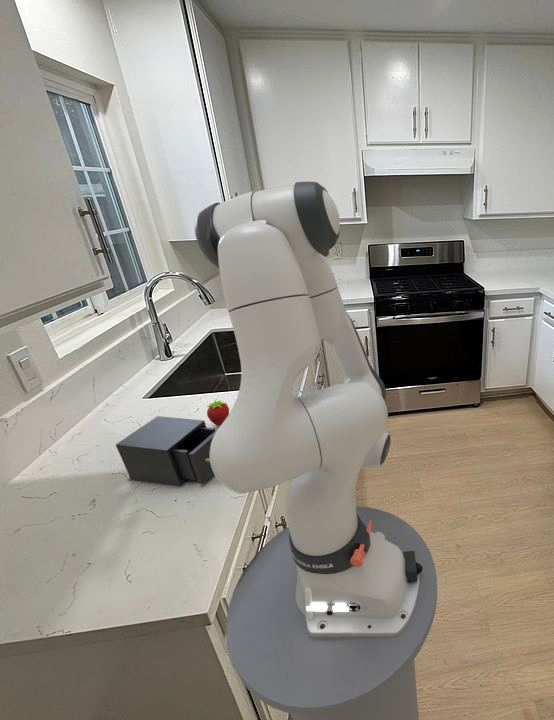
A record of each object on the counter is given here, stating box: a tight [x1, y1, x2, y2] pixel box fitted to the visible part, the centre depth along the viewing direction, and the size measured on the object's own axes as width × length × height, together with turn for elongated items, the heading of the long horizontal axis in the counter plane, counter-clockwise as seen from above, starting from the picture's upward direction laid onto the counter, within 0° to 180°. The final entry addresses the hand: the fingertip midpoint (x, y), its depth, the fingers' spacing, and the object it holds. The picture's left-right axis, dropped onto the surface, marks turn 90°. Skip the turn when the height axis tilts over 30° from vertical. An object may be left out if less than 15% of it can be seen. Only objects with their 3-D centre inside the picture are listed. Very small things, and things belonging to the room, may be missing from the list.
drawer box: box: [115, 415, 207, 487], centre depth 99 cm, size 15×13×11 cm
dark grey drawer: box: [170, 426, 218, 485], centre depth 97 cm, size 18×11×9 cm, turn 78°
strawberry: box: [206, 399, 230, 428], centre depth 115 cm, size 6×8×10 cm
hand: (264, 437), depth 90 cm, fingers closed
